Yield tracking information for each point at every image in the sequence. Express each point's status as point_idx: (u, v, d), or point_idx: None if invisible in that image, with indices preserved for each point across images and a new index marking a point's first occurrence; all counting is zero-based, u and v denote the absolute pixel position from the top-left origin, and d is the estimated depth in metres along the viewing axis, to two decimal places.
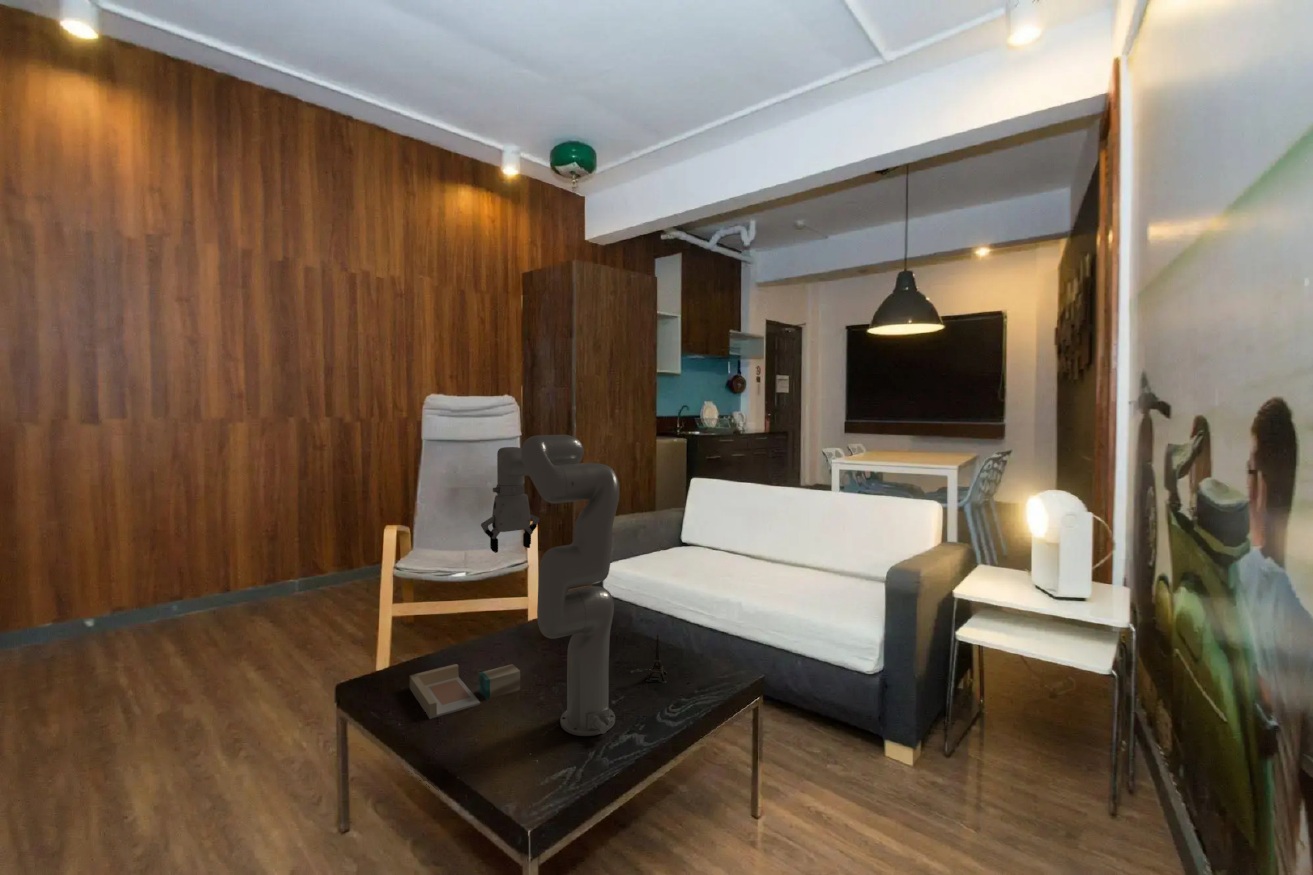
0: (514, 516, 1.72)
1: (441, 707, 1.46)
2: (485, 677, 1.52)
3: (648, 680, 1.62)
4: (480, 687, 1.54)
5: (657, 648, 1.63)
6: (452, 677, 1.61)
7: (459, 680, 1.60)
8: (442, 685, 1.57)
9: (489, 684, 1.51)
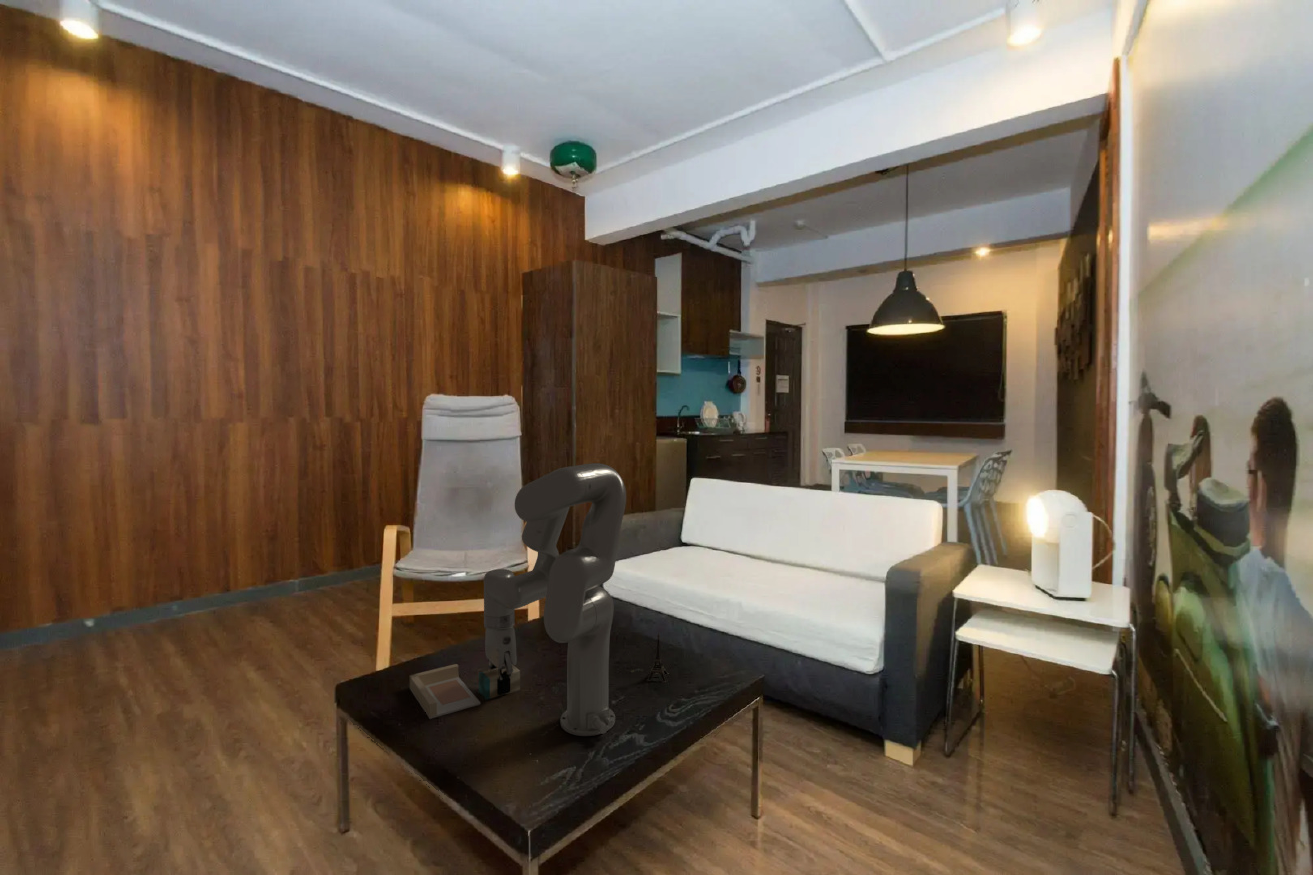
0: None
1: (441, 707, 1.46)
2: (485, 677, 1.52)
3: (649, 680, 1.62)
4: (480, 686, 1.54)
5: (658, 648, 1.64)
6: (452, 677, 1.61)
7: (459, 680, 1.60)
8: (442, 685, 1.57)
9: (489, 684, 1.51)
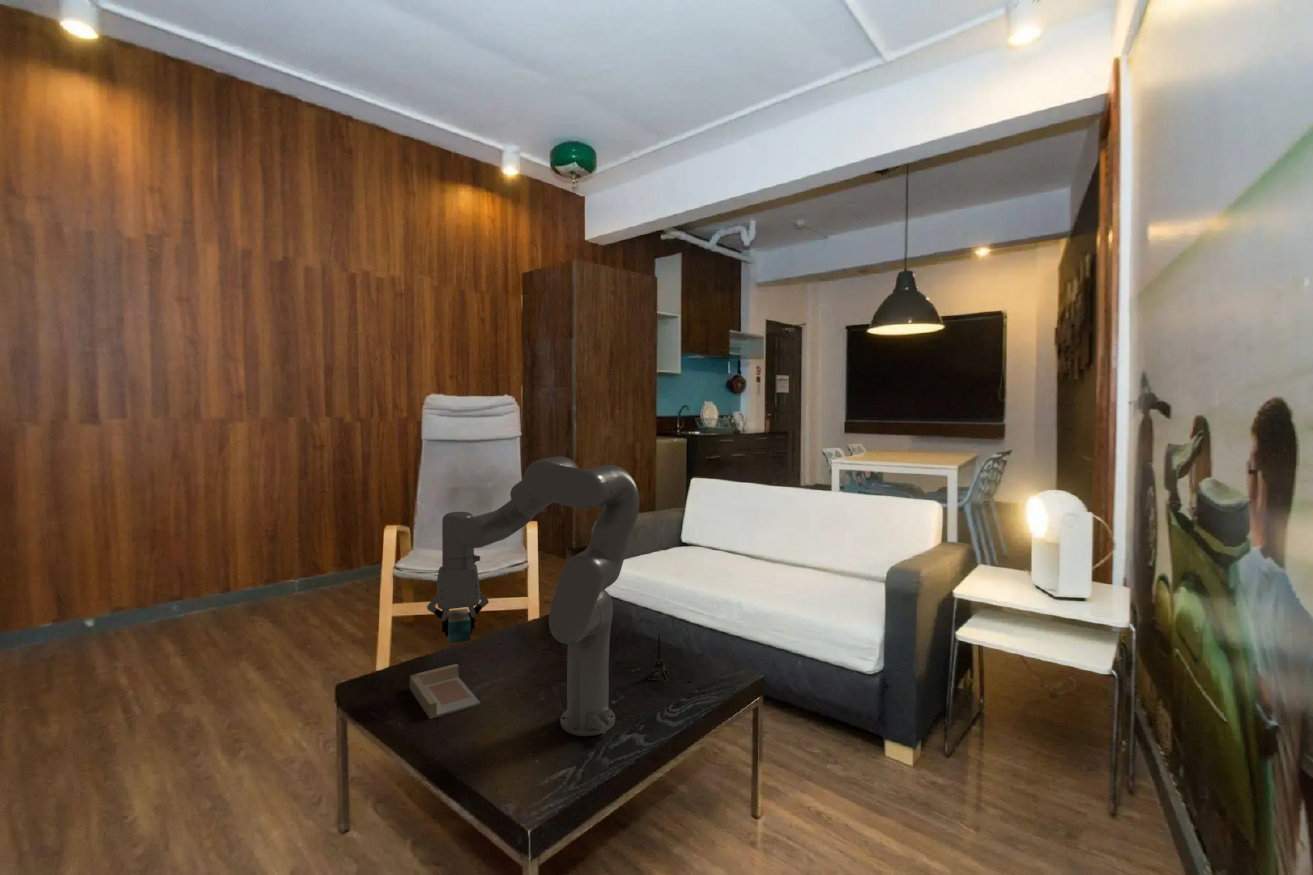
0: None
1: (441, 707, 1.46)
2: (464, 620, 1.50)
3: (650, 679, 1.63)
4: (453, 635, 1.49)
5: (659, 647, 1.64)
6: (452, 677, 1.61)
7: (459, 680, 1.60)
8: (442, 685, 1.57)
9: None
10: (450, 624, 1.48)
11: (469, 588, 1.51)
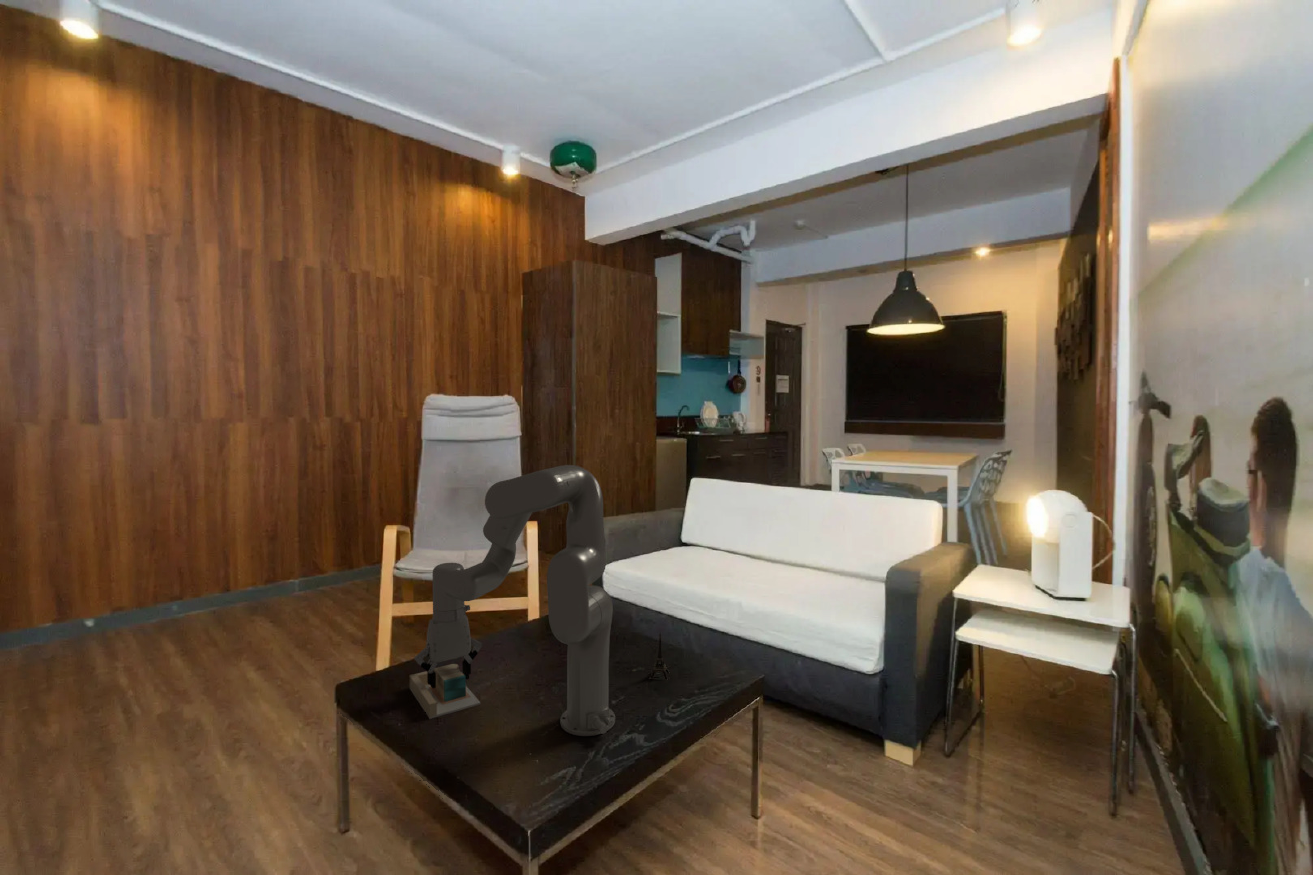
0: None
1: (441, 707, 1.46)
2: (458, 677, 1.51)
3: (651, 678, 1.63)
4: (449, 693, 1.49)
5: (660, 646, 1.64)
6: None
7: None
8: None
9: None
10: (446, 683, 1.48)
11: (461, 638, 1.52)
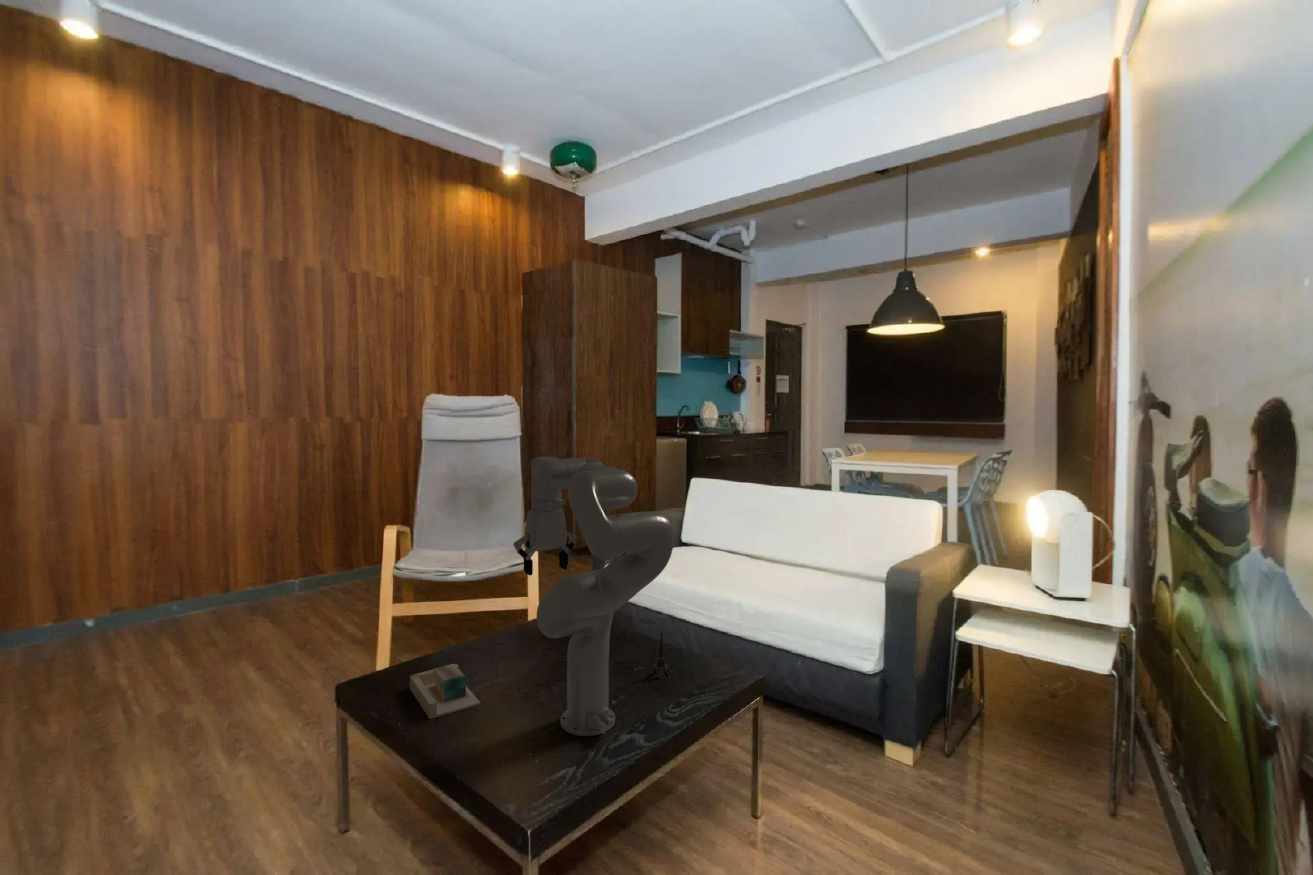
0: None
1: (441, 707, 1.46)
2: (458, 677, 1.51)
3: (652, 677, 1.64)
4: (449, 693, 1.49)
5: (661, 645, 1.65)
6: None
7: None
8: None
9: None
10: (446, 683, 1.48)
11: (559, 530, 1.56)
